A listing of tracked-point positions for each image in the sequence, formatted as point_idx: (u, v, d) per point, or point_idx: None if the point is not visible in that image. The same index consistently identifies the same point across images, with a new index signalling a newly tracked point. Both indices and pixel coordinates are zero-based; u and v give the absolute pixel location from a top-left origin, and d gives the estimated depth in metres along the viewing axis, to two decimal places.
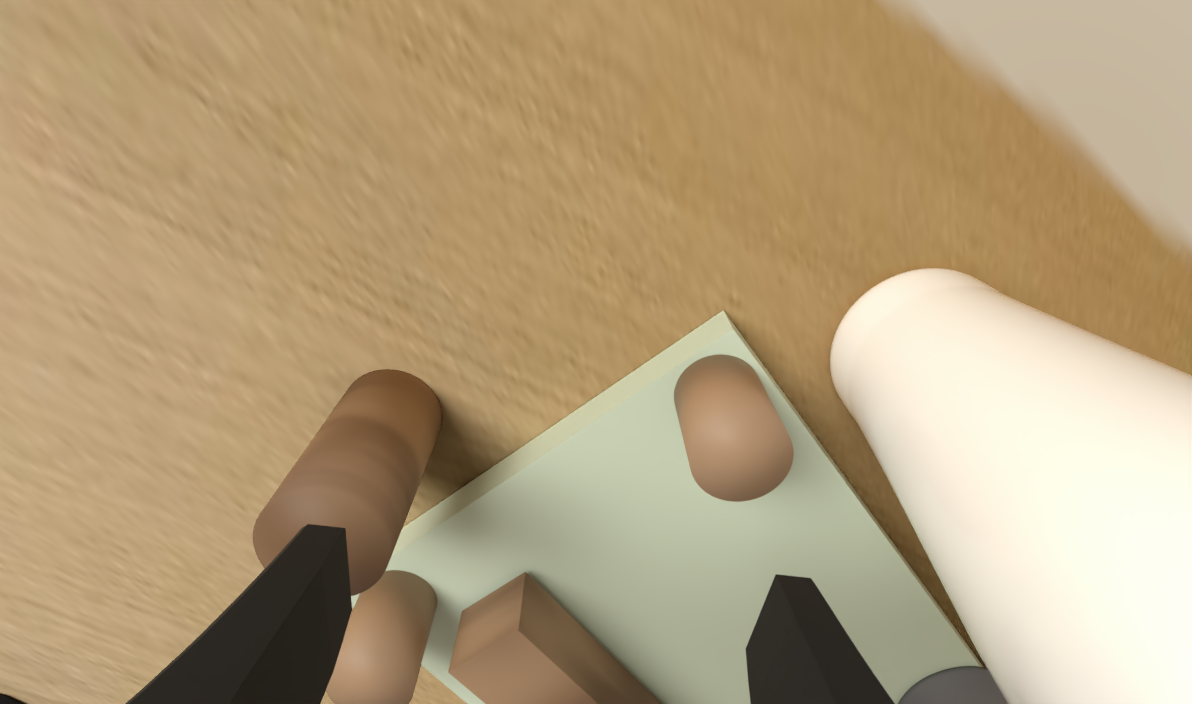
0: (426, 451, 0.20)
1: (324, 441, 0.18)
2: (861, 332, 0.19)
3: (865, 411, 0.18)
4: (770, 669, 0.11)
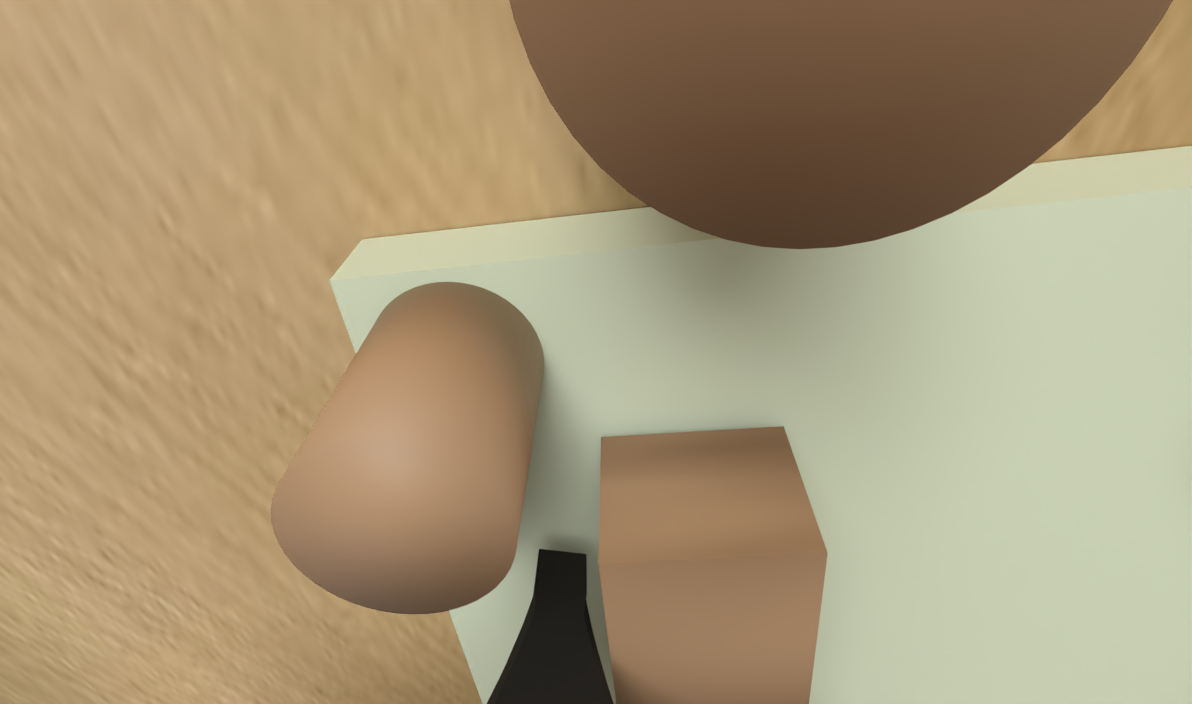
0: None
1: None
2: None
3: None
4: None
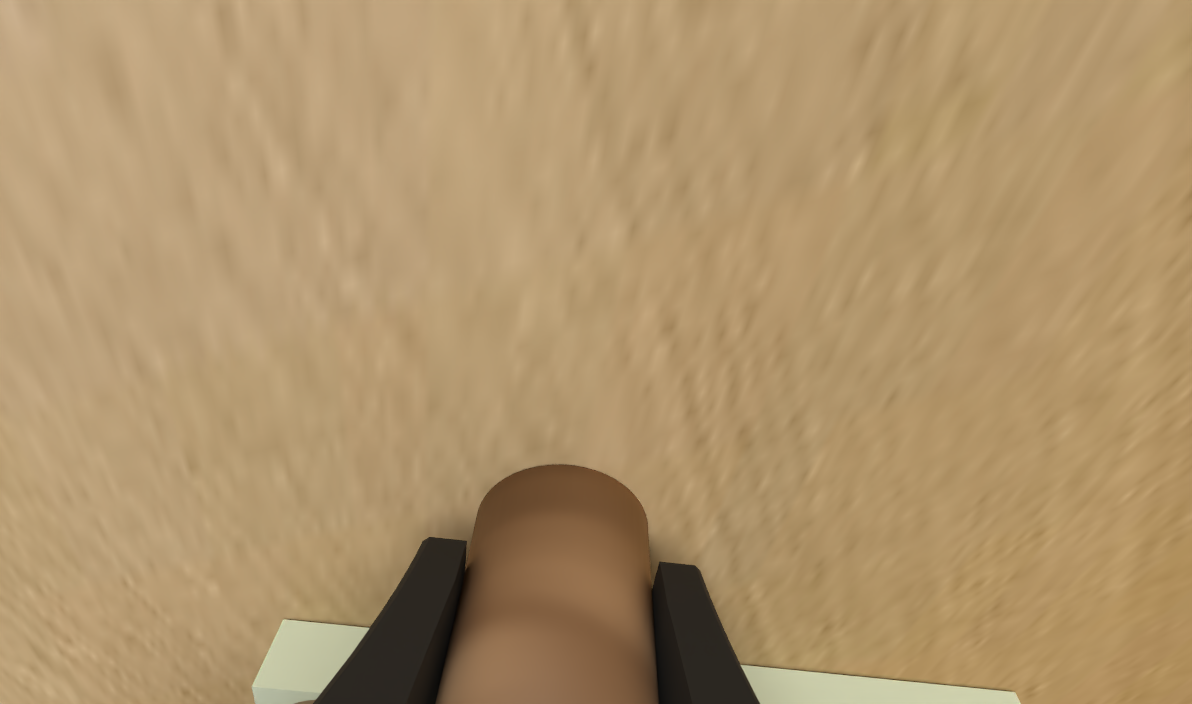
0: None
1: (566, 697, 0.08)
2: None
3: None
4: None
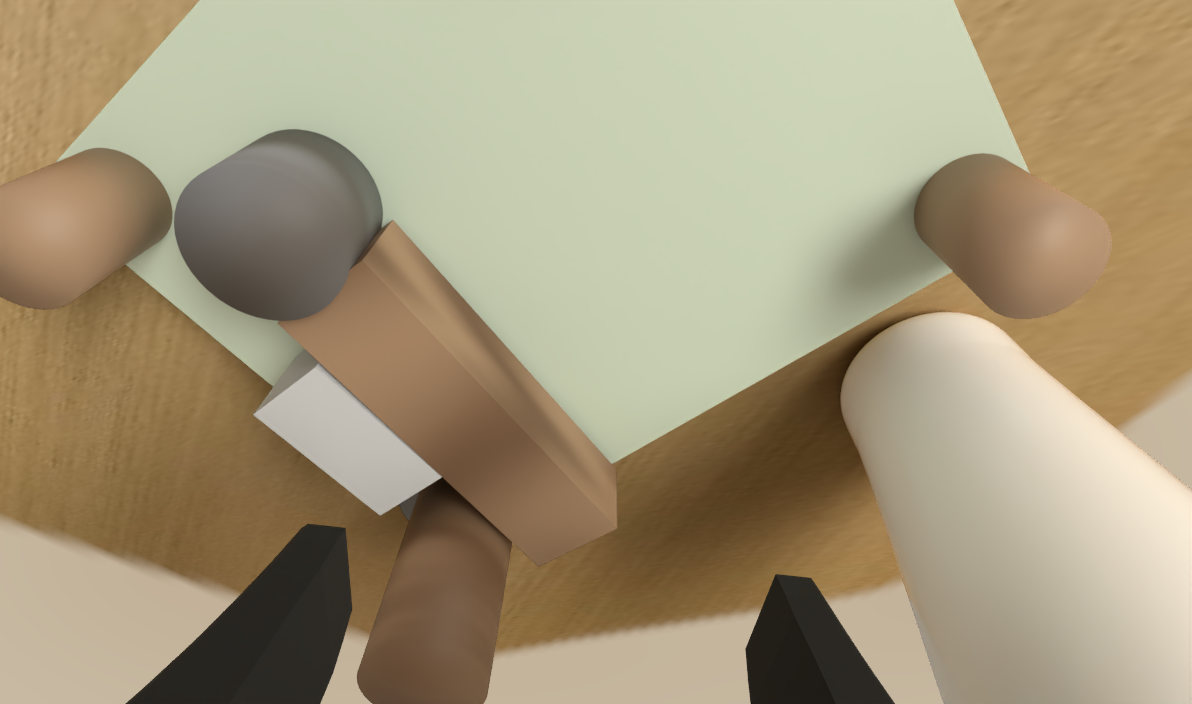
0: None
1: (466, 573, 0.18)
2: (1013, 344, 0.19)
3: (999, 372, 0.17)
4: (770, 669, 0.11)
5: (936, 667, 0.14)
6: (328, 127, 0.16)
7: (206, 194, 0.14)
